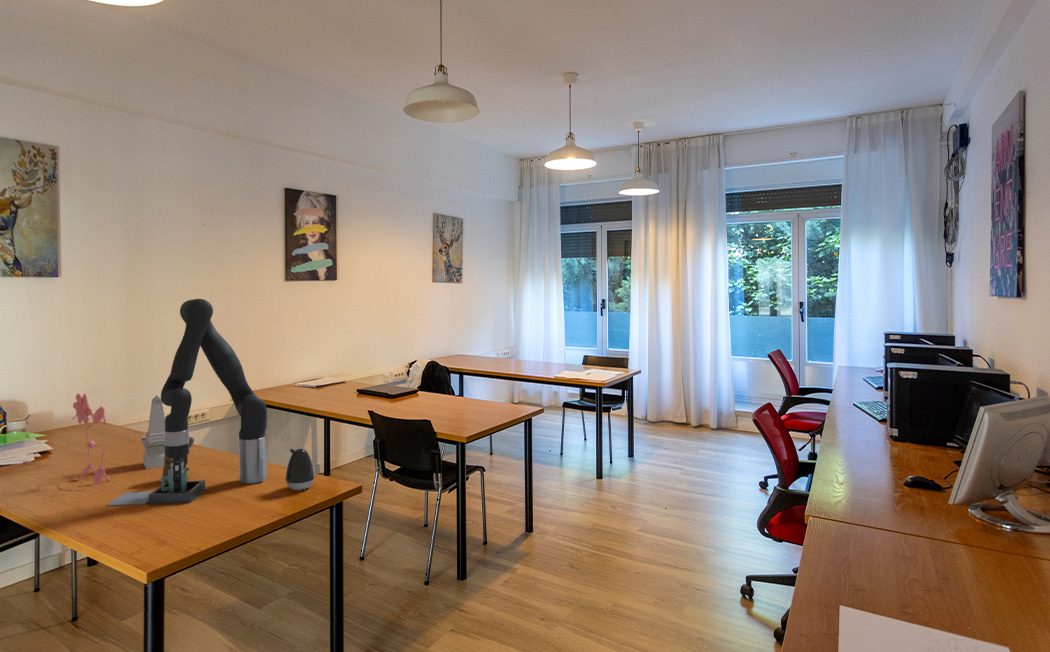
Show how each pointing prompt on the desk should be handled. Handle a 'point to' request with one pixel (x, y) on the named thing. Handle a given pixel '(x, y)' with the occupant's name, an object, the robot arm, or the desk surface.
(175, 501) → the dark grey rectangular frame
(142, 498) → the slate grey mat
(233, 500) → the desk surface
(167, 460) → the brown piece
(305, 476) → the grey egg-shaped device
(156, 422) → the miniature monument
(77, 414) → the figurine
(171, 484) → the glazed jug
